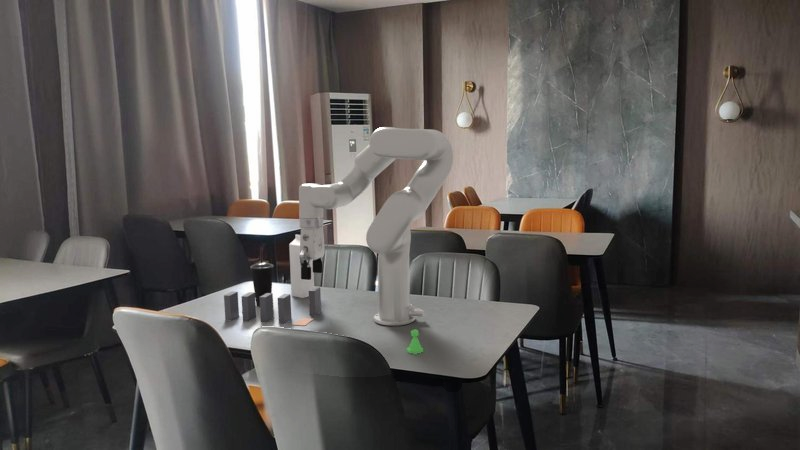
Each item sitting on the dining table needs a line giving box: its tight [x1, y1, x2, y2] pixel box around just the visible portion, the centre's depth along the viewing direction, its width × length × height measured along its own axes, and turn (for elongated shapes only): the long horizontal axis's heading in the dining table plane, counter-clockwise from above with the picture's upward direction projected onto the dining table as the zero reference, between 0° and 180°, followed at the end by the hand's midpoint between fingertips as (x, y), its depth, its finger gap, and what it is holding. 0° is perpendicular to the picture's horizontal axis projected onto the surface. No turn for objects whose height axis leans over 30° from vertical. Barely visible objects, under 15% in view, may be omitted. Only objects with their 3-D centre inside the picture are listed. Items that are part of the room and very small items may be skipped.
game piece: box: [406, 328, 424, 355], centre depth 156 cm, size 4×4×6 cm
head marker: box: [292, 317, 314, 327], centre depth 184 cm, size 4×7×1 cm, turn 167°
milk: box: [288, 234, 315, 299], centre depth 215 cm, size 6×6×22 cm
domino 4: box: [277, 293, 293, 324], centre depth 185 cm, size 2×5×8 cm, turn 166°
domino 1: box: [223, 291, 240, 321], centre depth 189 cm, size 2×5×8 cm, turn 166°
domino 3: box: [259, 292, 275, 324], centre depth 186 cm, size 2×5×8 cm, turn 166°
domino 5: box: [308, 286, 322, 316], centre depth 193 cm, size 2×5×8 cm, turn 166°
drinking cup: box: [250, 246, 274, 308], centre depth 203 cm, size 8×8×20 cm
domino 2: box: [241, 291, 257, 323], centre depth 188 cm, size 2×5×8 cm, turn 166°
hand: (312, 275), depth 192 cm, fingers open, 9 cm apart
